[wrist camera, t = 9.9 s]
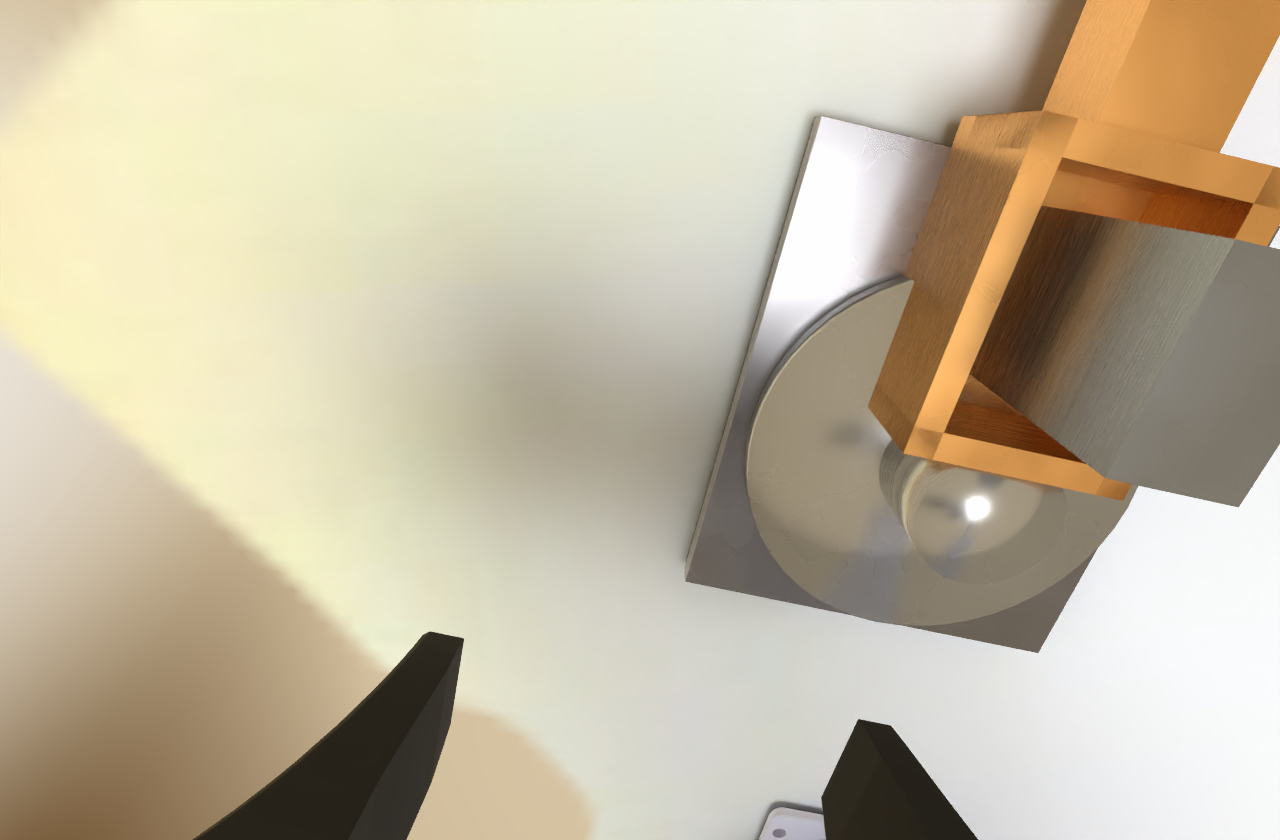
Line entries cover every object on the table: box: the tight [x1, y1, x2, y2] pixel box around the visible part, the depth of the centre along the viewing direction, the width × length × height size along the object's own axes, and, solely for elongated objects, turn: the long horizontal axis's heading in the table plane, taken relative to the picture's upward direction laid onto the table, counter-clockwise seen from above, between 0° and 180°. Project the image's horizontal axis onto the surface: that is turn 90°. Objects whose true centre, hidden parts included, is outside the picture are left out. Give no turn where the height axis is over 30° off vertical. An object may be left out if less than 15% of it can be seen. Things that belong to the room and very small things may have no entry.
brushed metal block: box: [969, 206, 1280, 507], centre depth 14 cm, size 4×2×7 cm, turn 168°
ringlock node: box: [685, 0, 1280, 653], centre depth 17 cm, size 22×12×5 cm, turn 168°
